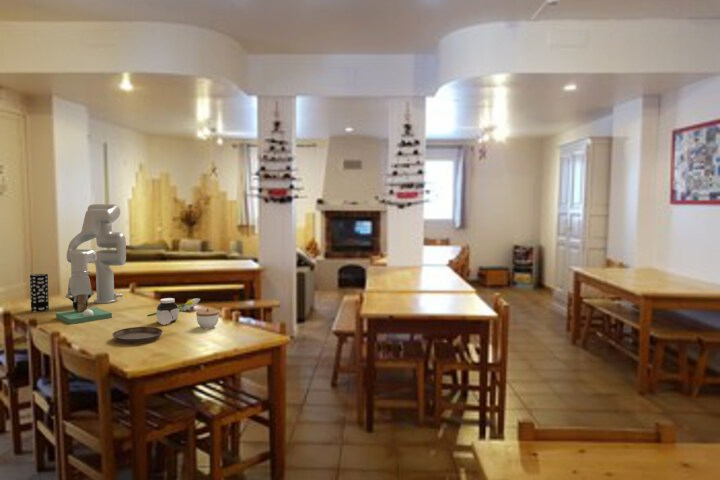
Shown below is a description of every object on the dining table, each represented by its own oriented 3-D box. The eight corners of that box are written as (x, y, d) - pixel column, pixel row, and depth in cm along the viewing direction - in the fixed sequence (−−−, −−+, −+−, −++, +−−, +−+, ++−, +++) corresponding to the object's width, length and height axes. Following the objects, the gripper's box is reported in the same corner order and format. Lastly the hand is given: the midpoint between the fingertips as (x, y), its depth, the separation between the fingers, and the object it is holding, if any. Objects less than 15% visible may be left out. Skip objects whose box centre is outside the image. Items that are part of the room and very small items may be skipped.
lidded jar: (223, 325, 246) (223, 307, 246) (210, 330, 236) (210, 311, 236) (205, 323, 250) (205, 305, 249) (191, 328, 240) (191, 309, 239)
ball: (84, 319, 251) (81, 319, 255) (95, 318, 254) (92, 318, 258) (83, 310, 251) (81, 309, 255) (94, 308, 255) (91, 308, 258)
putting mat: (96, 311, 272) (96, 307, 272) (112, 317, 259) (111, 313, 259) (56, 317, 257) (55, 312, 257) (70, 324, 244) (70, 319, 244)
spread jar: (174, 318, 259) (173, 297, 259) (183, 322, 251) (183, 300, 251) (151, 322, 251) (150, 299, 250) (160, 326, 243) (159, 303, 242)
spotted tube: (42, 312, 269) (41, 276, 268) (27, 311, 269) (26, 275, 268) (52, 308, 277) (51, 273, 276) (37, 308, 277) (36, 273, 276)
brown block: (82, 309, 264) (82, 292, 264) (86, 310, 261) (85, 294, 261) (74, 310, 261) (74, 293, 261) (78, 312, 258) (77, 295, 258)
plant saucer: (172, 335, 228) (172, 328, 228) (143, 347, 208) (142, 340, 208) (133, 331, 233) (133, 324, 233) (101, 343, 213) (101, 336, 213)
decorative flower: (153, 322, 260) (205, 307, 281) (151, 313, 260) (203, 298, 281) (144, 319, 269) (195, 304, 290) (142, 310, 269) (193, 297, 290)
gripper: (93, 272, 269) (94, 305, 270) (59, 275, 256) (60, 309, 257) (99, 273, 264) (99, 307, 265) (64, 276, 251) (65, 312, 252)
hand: (80, 308), depth 261 cm, fingers closed on brown block, 4 cm apart
